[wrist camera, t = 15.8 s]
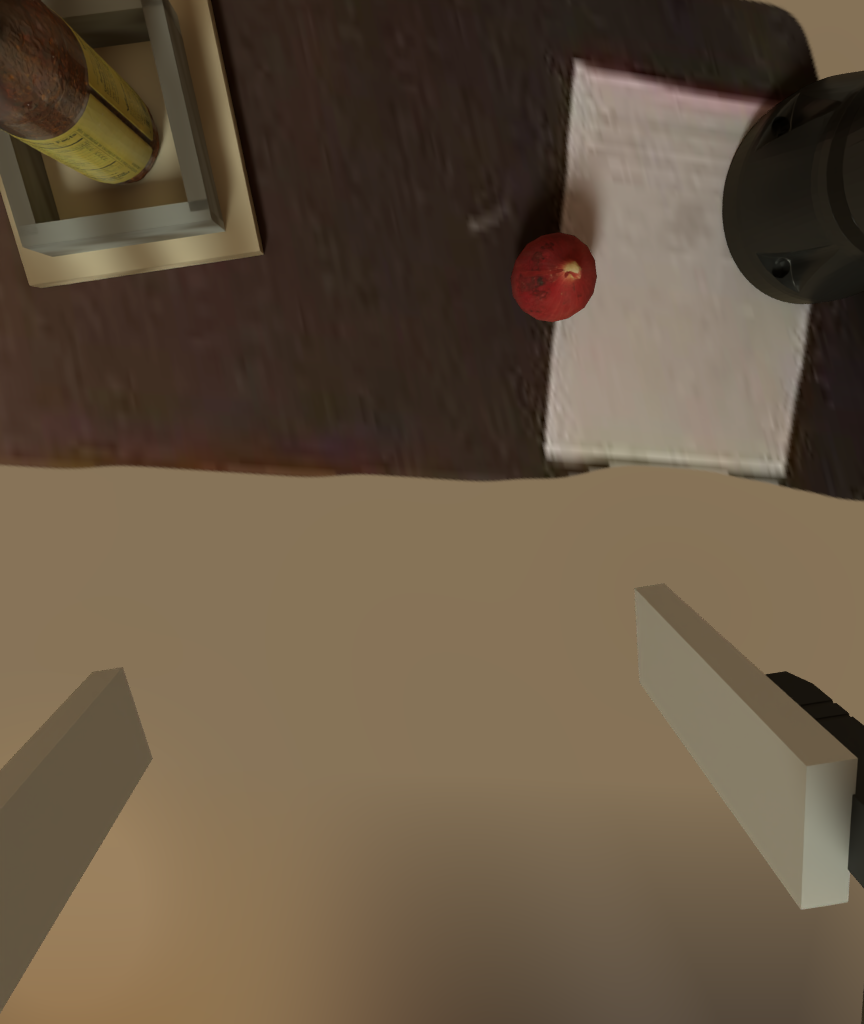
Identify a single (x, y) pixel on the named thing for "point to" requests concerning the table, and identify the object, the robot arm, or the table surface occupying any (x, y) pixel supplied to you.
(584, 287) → the onion
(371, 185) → the table surface
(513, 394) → the table surface
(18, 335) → the table surface
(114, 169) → the sauce bottle
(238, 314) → the table surface
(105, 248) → the bottle holder
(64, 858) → the robot arm
